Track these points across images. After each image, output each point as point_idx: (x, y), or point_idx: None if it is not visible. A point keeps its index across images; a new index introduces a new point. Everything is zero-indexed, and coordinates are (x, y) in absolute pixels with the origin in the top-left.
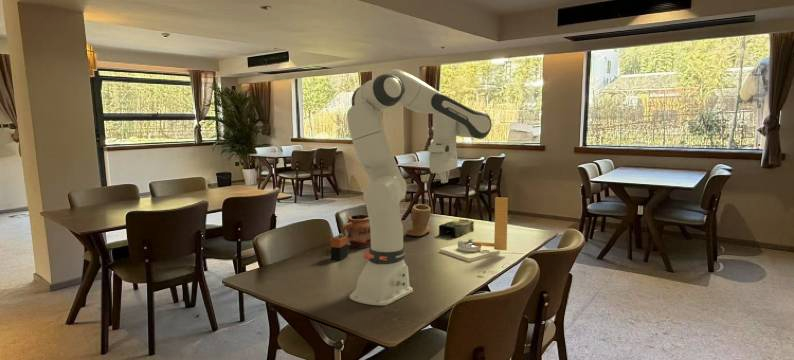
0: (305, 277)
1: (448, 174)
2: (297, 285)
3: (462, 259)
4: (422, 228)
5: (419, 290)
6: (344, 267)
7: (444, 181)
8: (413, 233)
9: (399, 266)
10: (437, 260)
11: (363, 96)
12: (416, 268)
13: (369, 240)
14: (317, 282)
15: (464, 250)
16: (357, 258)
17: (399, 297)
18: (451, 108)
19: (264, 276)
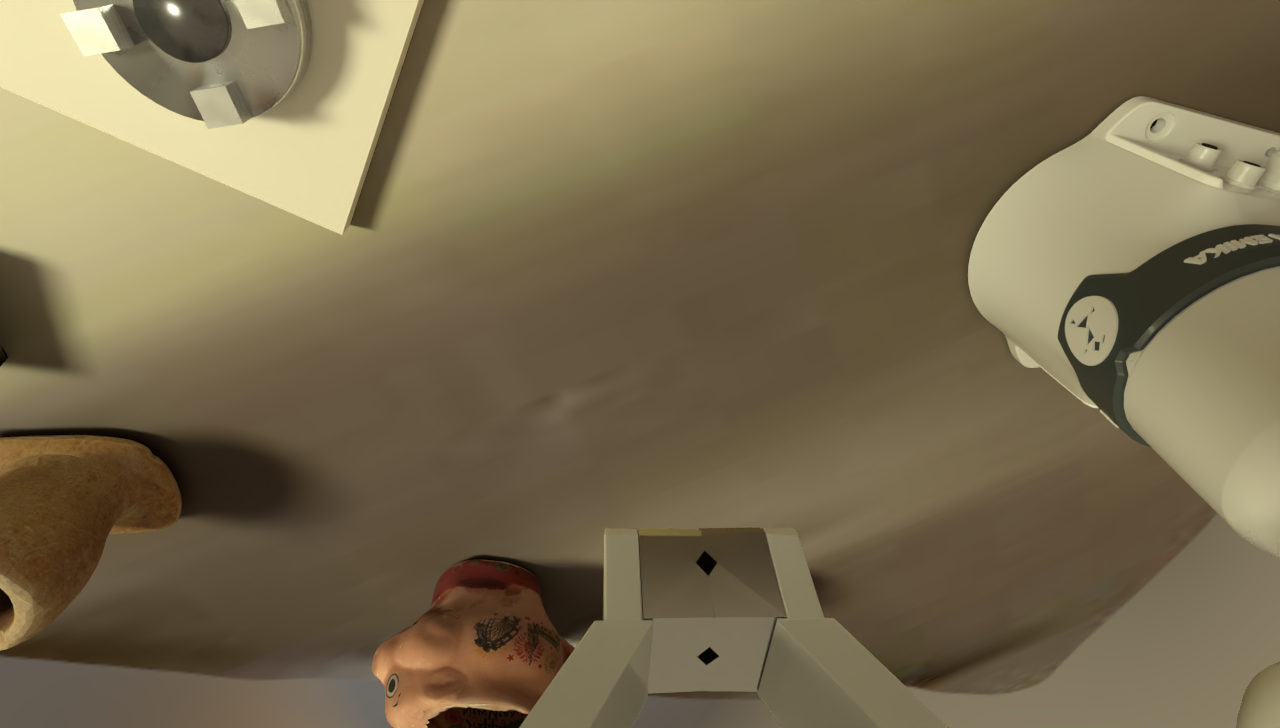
0: (973, 559)
1: (583, 707)
2: (1063, 540)
3: (422, 3)
4: (80, 472)
5: (1106, 68)
6: (823, 511)
7: (797, 561)
8: (162, 484)
9: (1270, 213)
10: (531, 172)
11: None
12: (734, 231)
13: (486, 584)
14: (1024, 506)
15: (307, 26)
16: (684, 523)
17: (1246, 124)
18: None
19: (981, 648)
